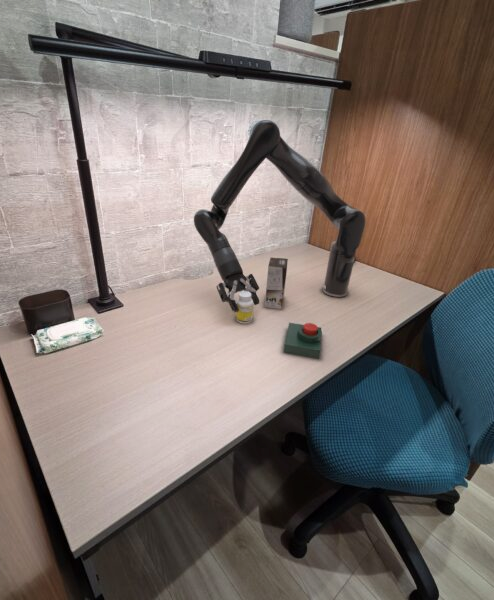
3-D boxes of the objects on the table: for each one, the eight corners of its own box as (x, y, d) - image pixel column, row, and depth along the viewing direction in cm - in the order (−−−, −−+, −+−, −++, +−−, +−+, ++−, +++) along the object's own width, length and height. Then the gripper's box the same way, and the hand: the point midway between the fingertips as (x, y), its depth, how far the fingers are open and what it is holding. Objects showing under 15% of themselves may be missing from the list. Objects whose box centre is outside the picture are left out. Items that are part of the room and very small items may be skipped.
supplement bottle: (238, 314, 109) (239, 289, 104) (253, 317, 108) (255, 291, 103) (234, 322, 104) (235, 296, 100) (250, 325, 103) (251, 299, 98)
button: (303, 327, 95) (304, 322, 94) (316, 329, 94) (317, 324, 93) (302, 334, 91) (303, 329, 90) (316, 336, 90) (317, 331, 90)
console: (288, 330, 101) (289, 317, 99) (319, 335, 99) (322, 322, 97) (283, 352, 91) (285, 338, 89) (318, 359, 89) (321, 344, 87)
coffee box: (282, 309, 113) (286, 267, 105) (264, 307, 114) (267, 265, 106) (283, 297, 121) (288, 258, 113) (267, 295, 122) (270, 256, 114)
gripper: (213, 263, 98) (235, 310, 96) (249, 254, 106) (269, 298, 103) (205, 273, 104) (224, 317, 102) (238, 264, 112) (258, 305, 110)
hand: (247, 307), depth 103 cm, fingers open, 8 cm apart
